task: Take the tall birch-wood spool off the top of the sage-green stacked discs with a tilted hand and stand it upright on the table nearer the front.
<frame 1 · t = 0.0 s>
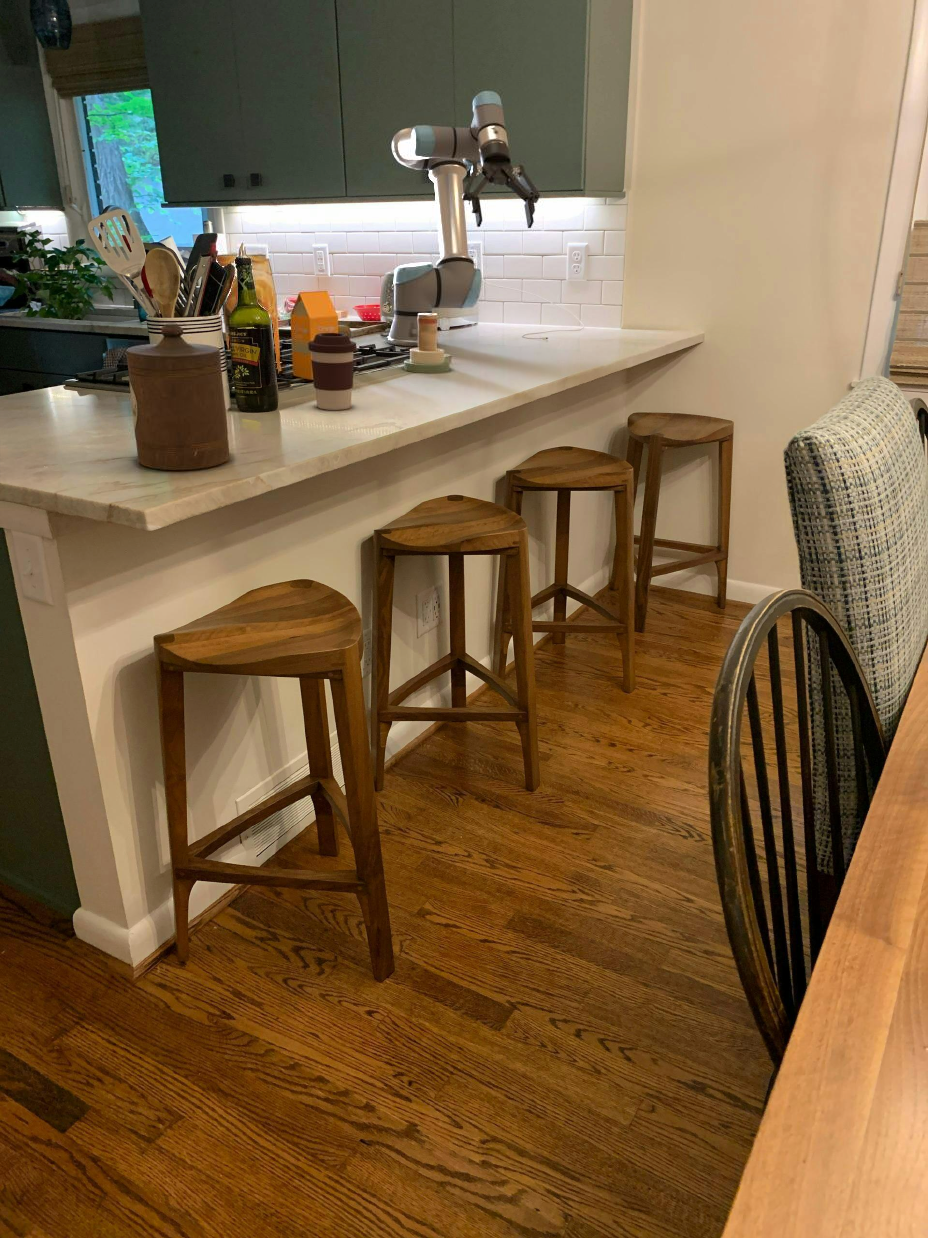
hand: (505, 224, 236), 36 cm above the table, tool tilted 35°, fingers open, 13 cm apart
wooden container: (184, 460, 157), on the table
orange juice: (316, 376, 233), on the table
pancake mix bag: (253, 375, 232), on the table
coffee cup: (333, 407, 200), on the table
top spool: (427, 349, 245), point 5 cm above the table, touching disc stack
cork: (341, 370, 243), on the table
disc stack: (426, 369, 247), on the table
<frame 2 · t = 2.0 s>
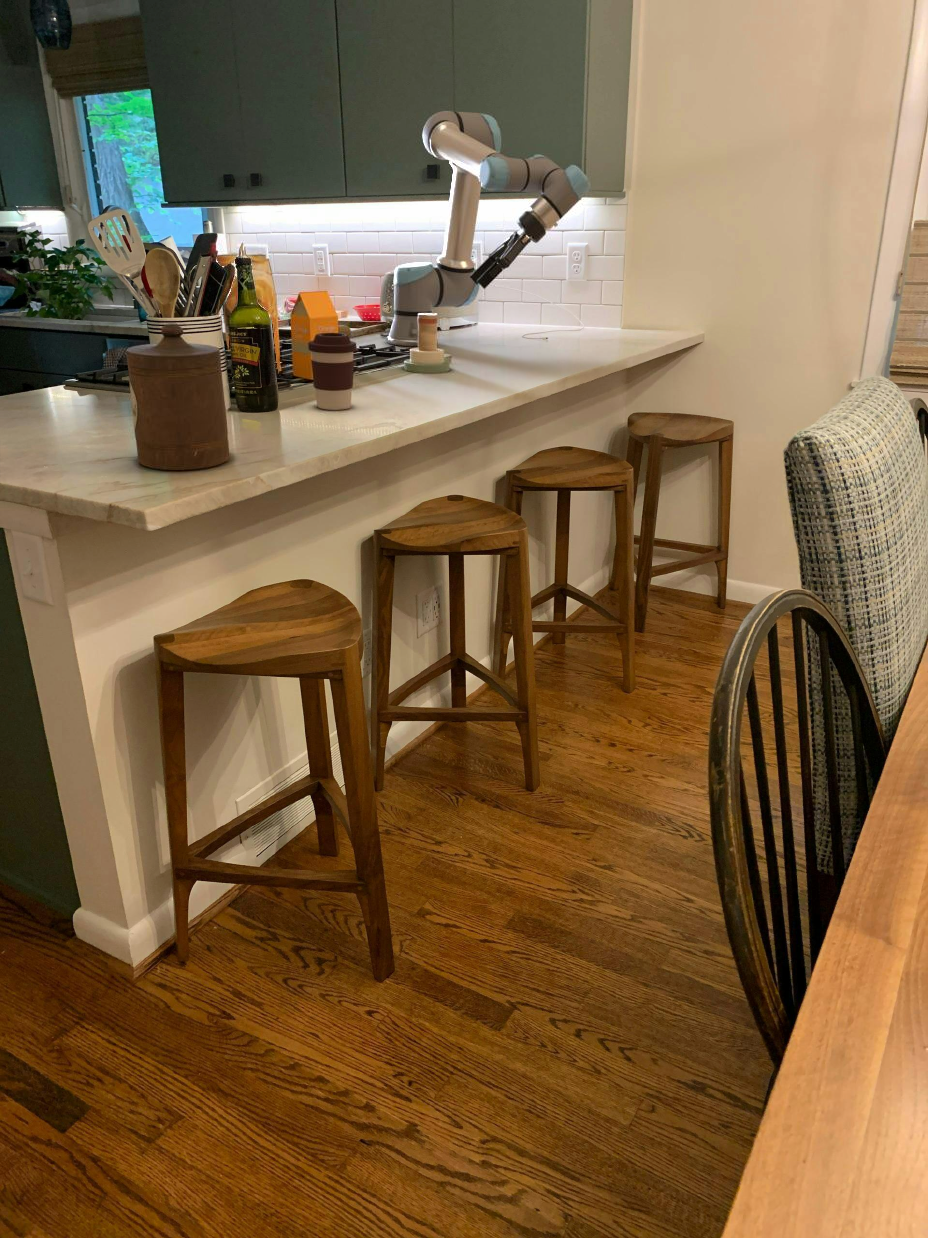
hand: (476, 282, 240), 22 cm above the table, tool tilted 45°, fingers open, 13 cm apart
nothing on the table moved.
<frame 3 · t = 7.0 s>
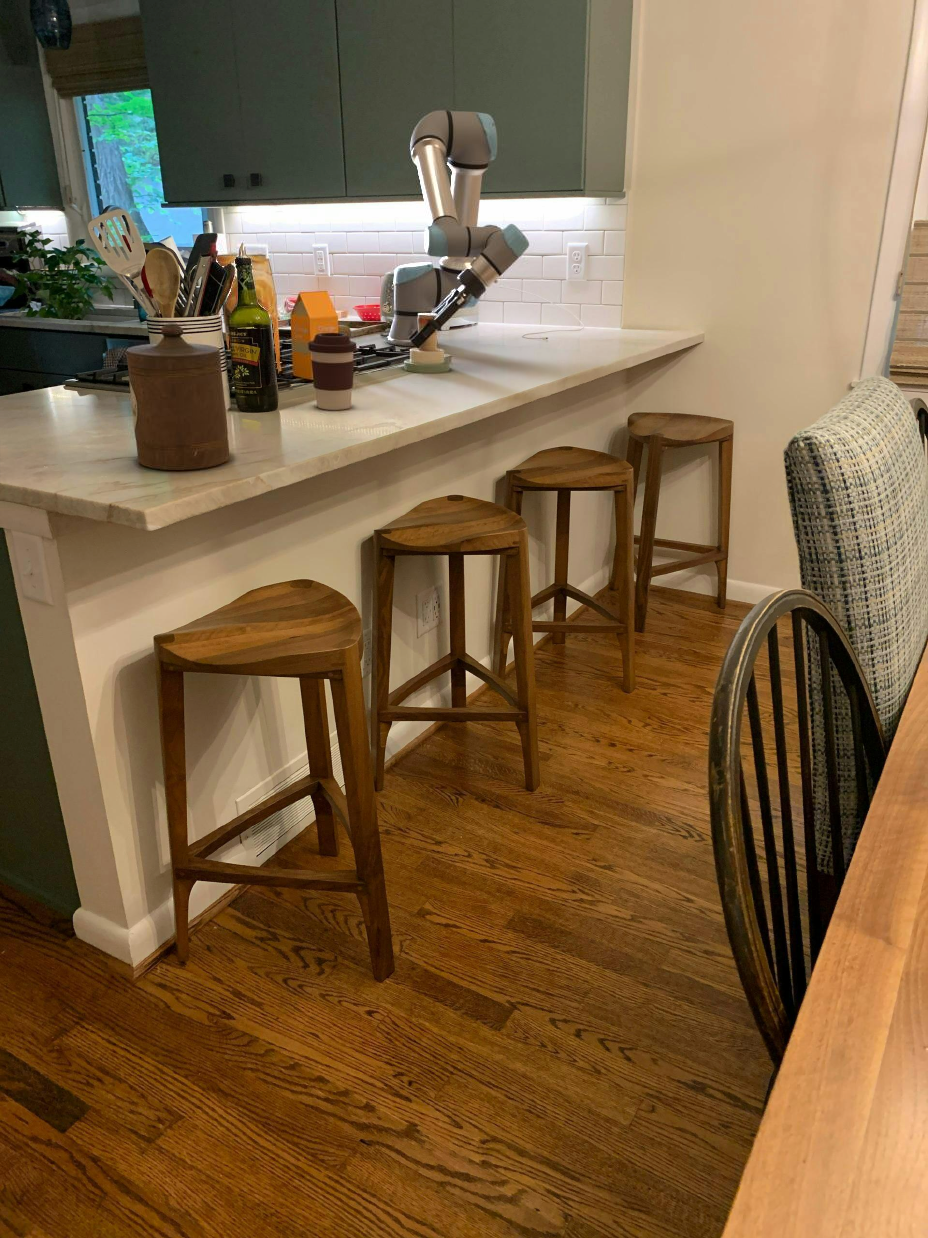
hand: (413, 342, 244), 7 cm above the table, tool tilted 45°, fingers closed on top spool, 5 cm apart
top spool: (427, 349, 245), point 5 cm above the table, touching disc stack, gripper
everything else where it was.
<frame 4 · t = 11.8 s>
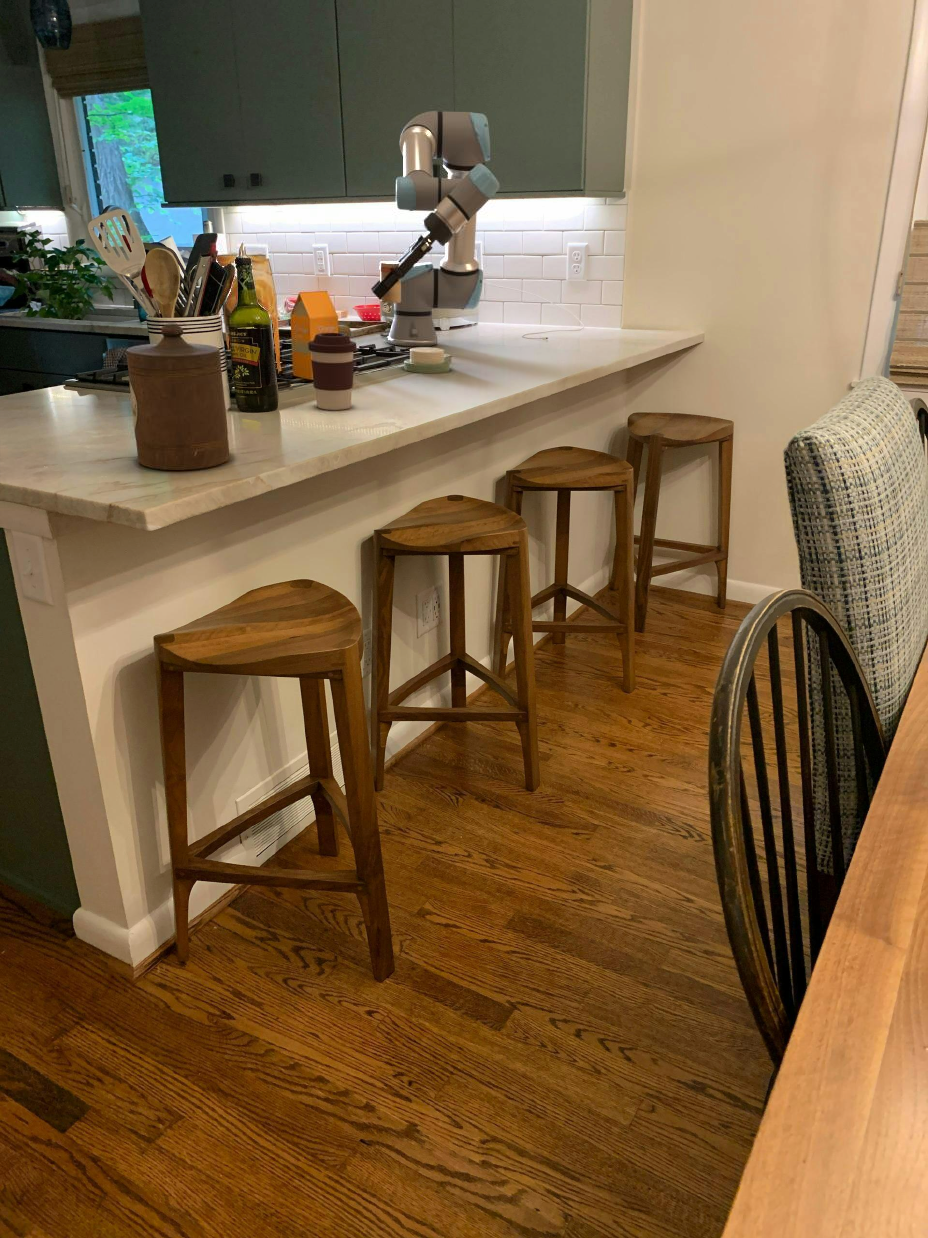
hand: (375, 293, 226), 20 cm above the table, tool tilted 45°, fingers closed on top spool, 5 cm apart
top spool: (390, 301, 228), point 18 cm above the table, touching gripper
everything else where it was.
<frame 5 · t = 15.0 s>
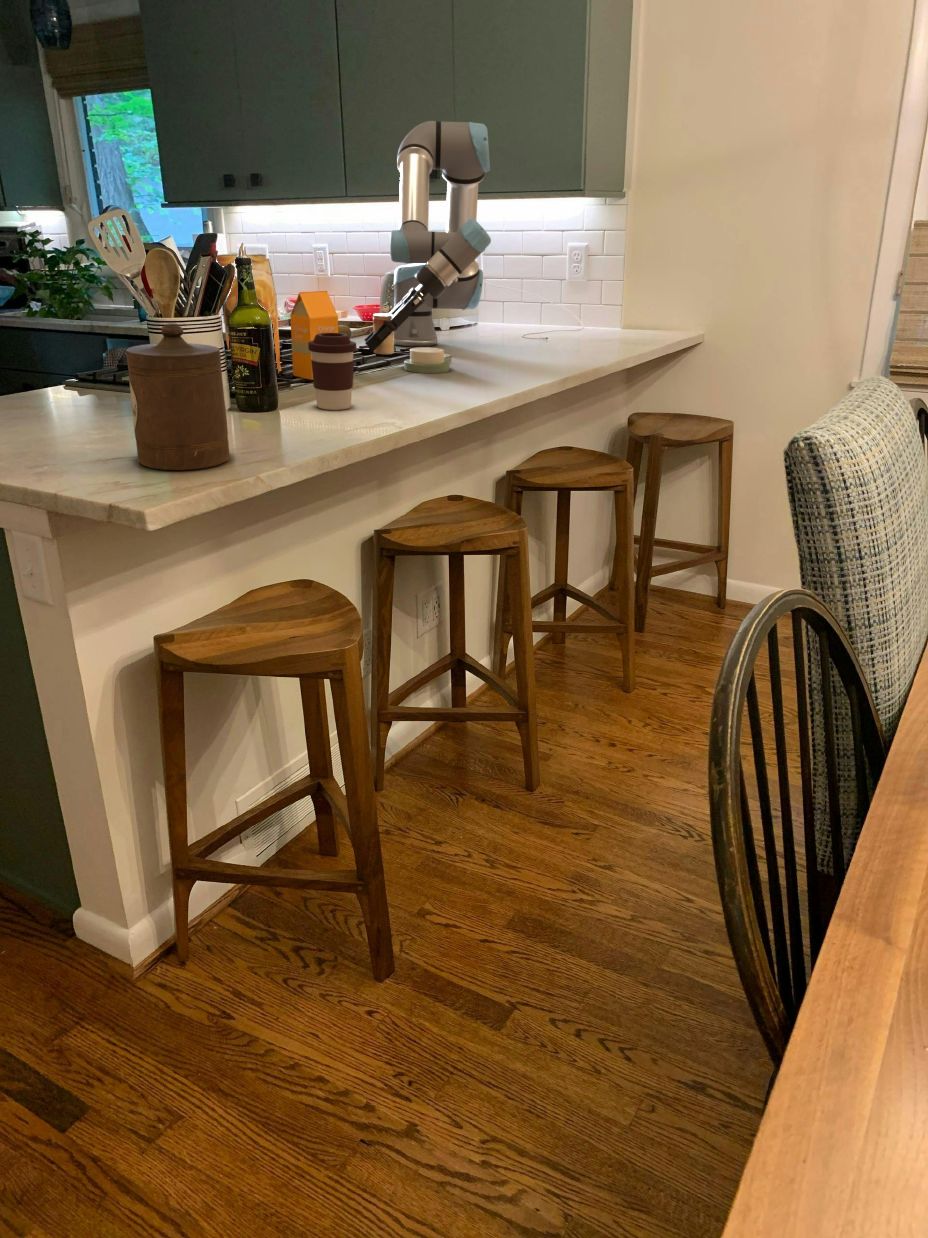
hand: (368, 345, 229), 8 cm above the table, tool tilted 45°, fingers closed on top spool, 5 cm apart
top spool: (383, 352, 230), point 6 cm above the table, touching gripper
everything else where it was.
when the fingers open (2 cm above the table, at t = 17.0 s): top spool stays where it is, on the table.
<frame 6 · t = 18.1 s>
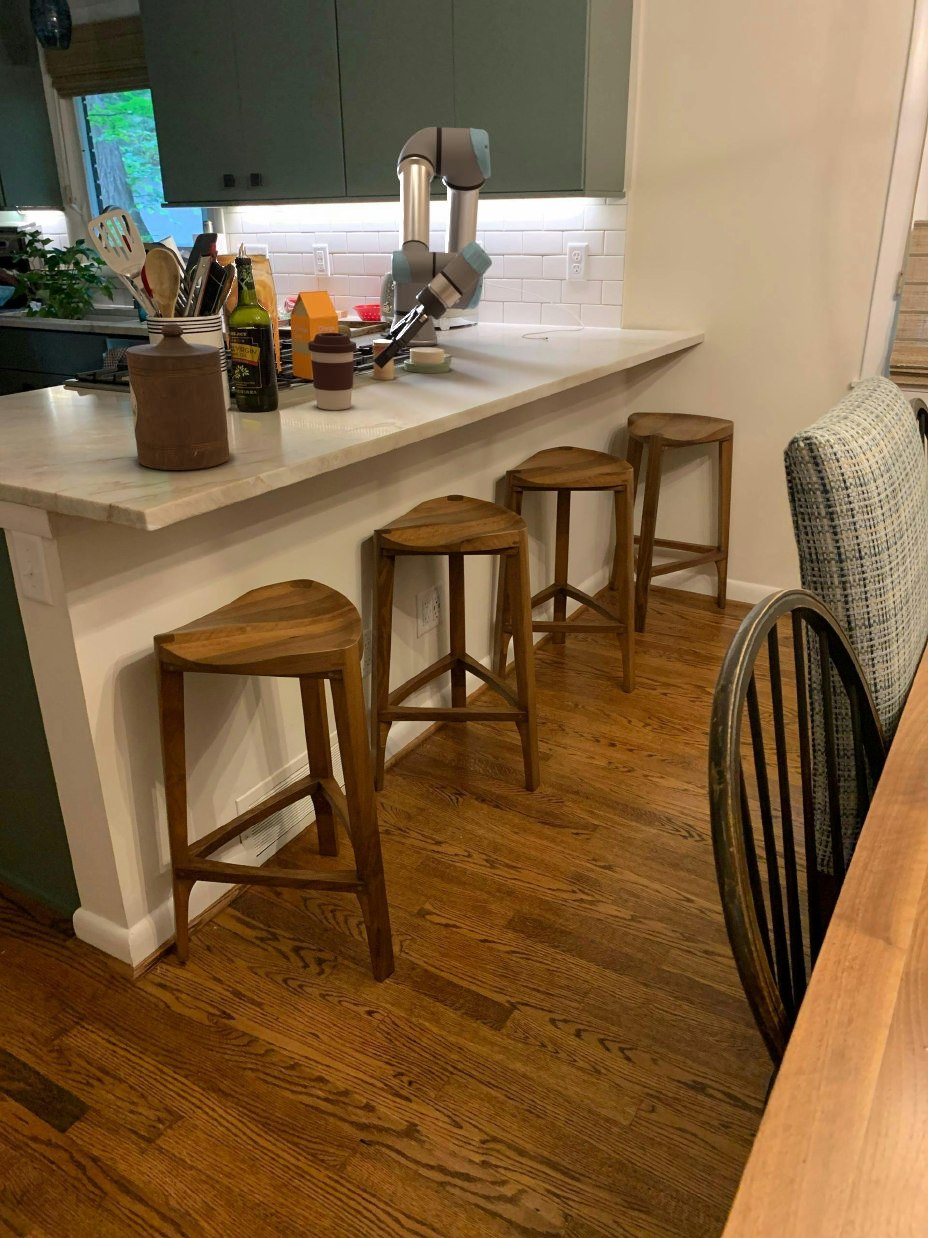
hand: (376, 359, 231), 4 cm above the table, tool tilted 45°, fingers open, 13 cm apart
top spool: (383, 378, 233), on the table
everything else where it was.
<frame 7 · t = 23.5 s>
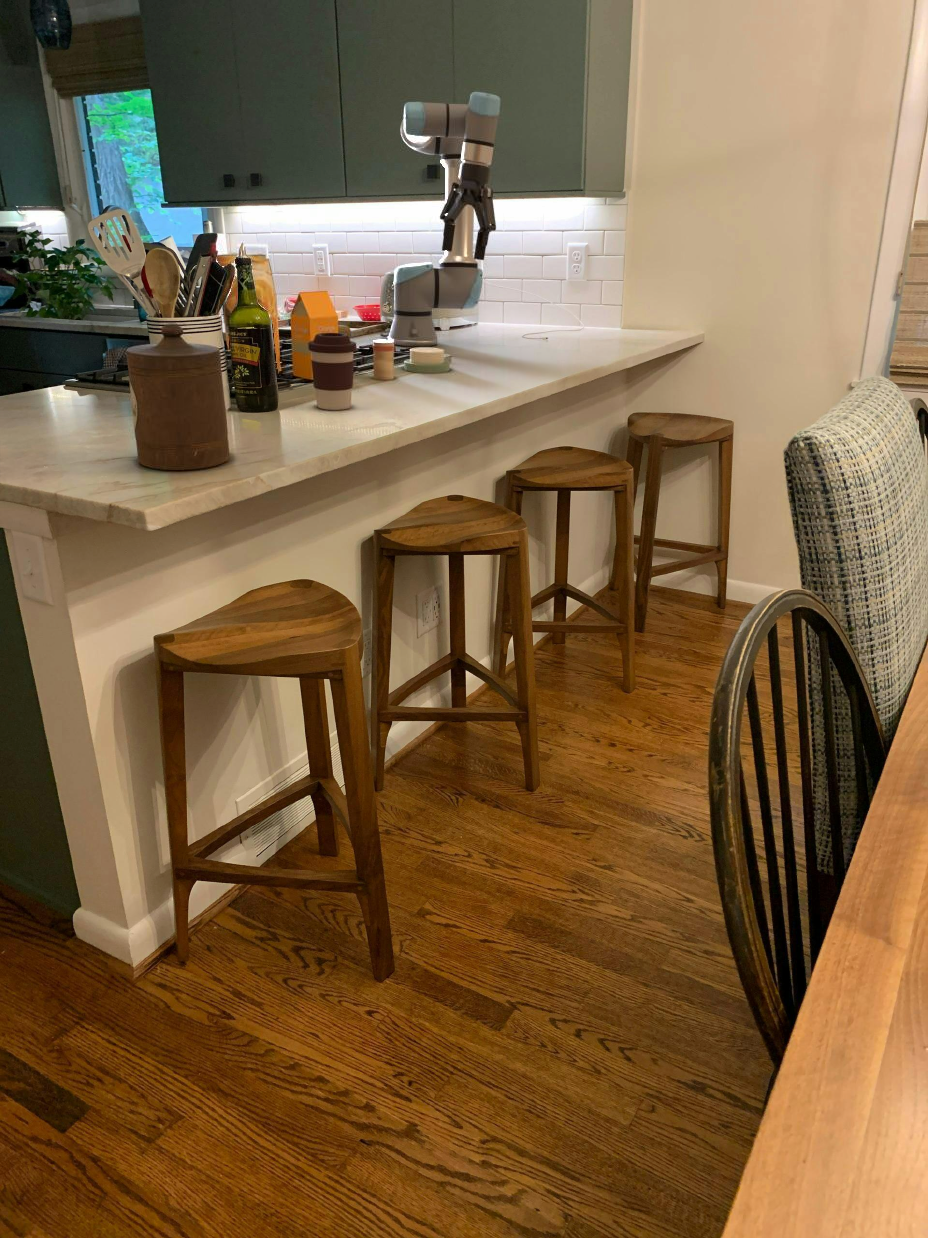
hand: (462, 255, 239), 28 cm above the table, tool pointing down, fingers open, 13 cm apart
nothing on the table moved.
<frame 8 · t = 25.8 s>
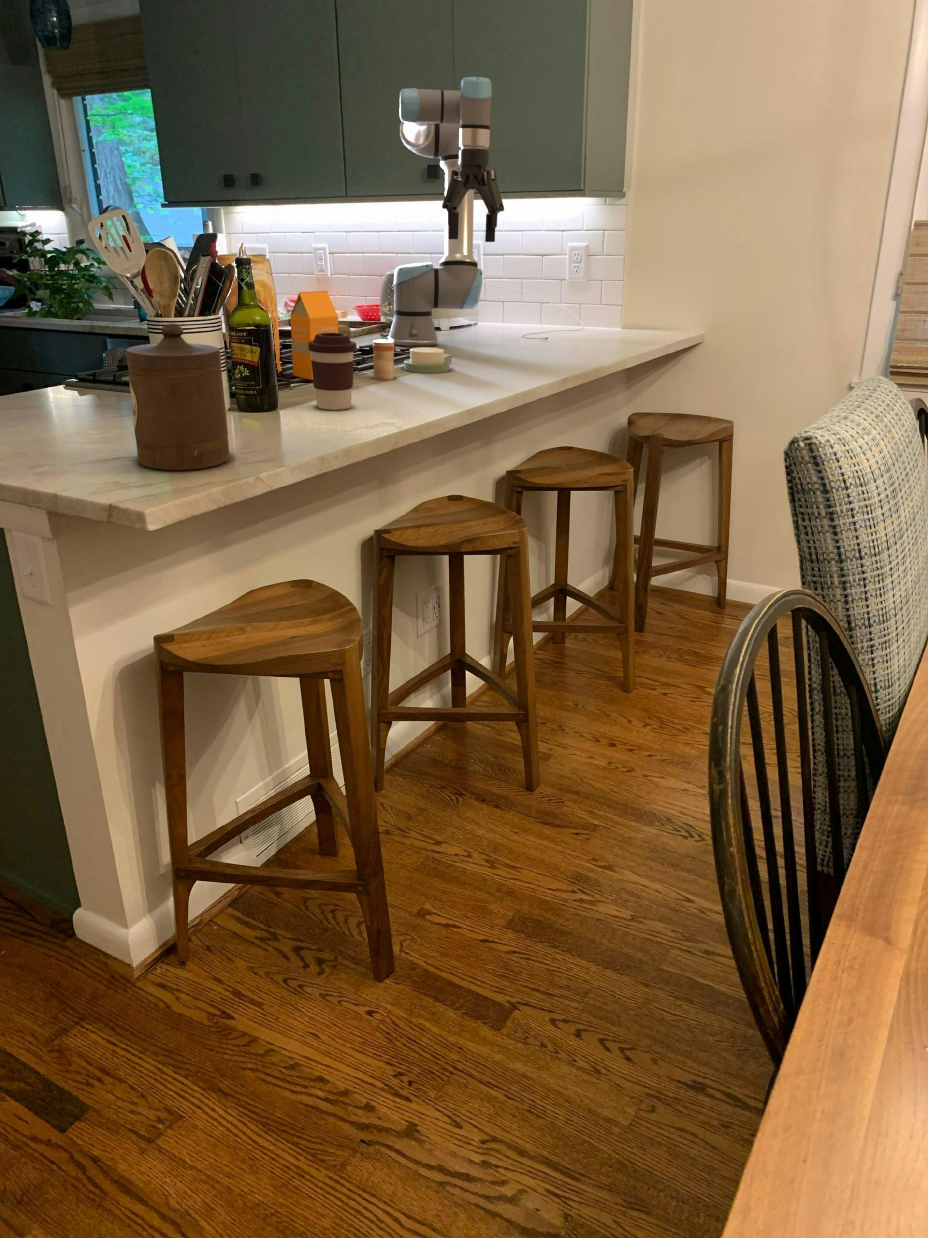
hand: (471, 240, 241), 32 cm above the table, tool pointing down, fingers open, 13 cm apart
nothing on the table moved.
at the end: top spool inside the target area (0.0 cm from its centre), on the table; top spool tilted 0°; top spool touching table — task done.
